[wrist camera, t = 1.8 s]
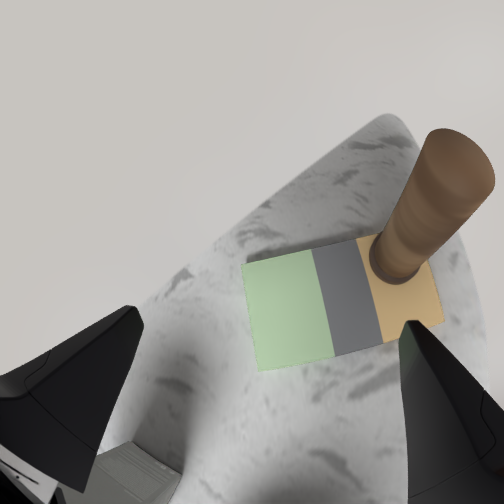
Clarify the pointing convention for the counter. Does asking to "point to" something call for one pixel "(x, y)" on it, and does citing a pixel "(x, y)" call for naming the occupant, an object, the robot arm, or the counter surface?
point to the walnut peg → (432, 204)
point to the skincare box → (125, 479)
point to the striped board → (330, 304)
